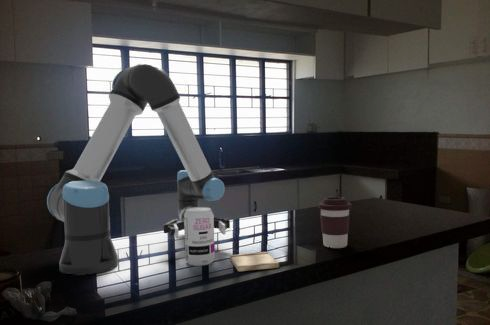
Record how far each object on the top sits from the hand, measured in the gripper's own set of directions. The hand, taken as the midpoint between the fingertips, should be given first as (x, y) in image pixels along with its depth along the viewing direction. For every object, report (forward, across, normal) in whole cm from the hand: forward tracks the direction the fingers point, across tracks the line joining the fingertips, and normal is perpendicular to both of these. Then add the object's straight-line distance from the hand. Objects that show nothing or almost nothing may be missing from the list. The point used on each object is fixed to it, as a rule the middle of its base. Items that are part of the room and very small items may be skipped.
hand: (200, 231), depth 120 cm
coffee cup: (0, -42, -8) cm, 43 cm away
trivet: (+9, -13, -8) cm, 18 cm away
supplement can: (+3, +1, -8) cm, 9 cm away
